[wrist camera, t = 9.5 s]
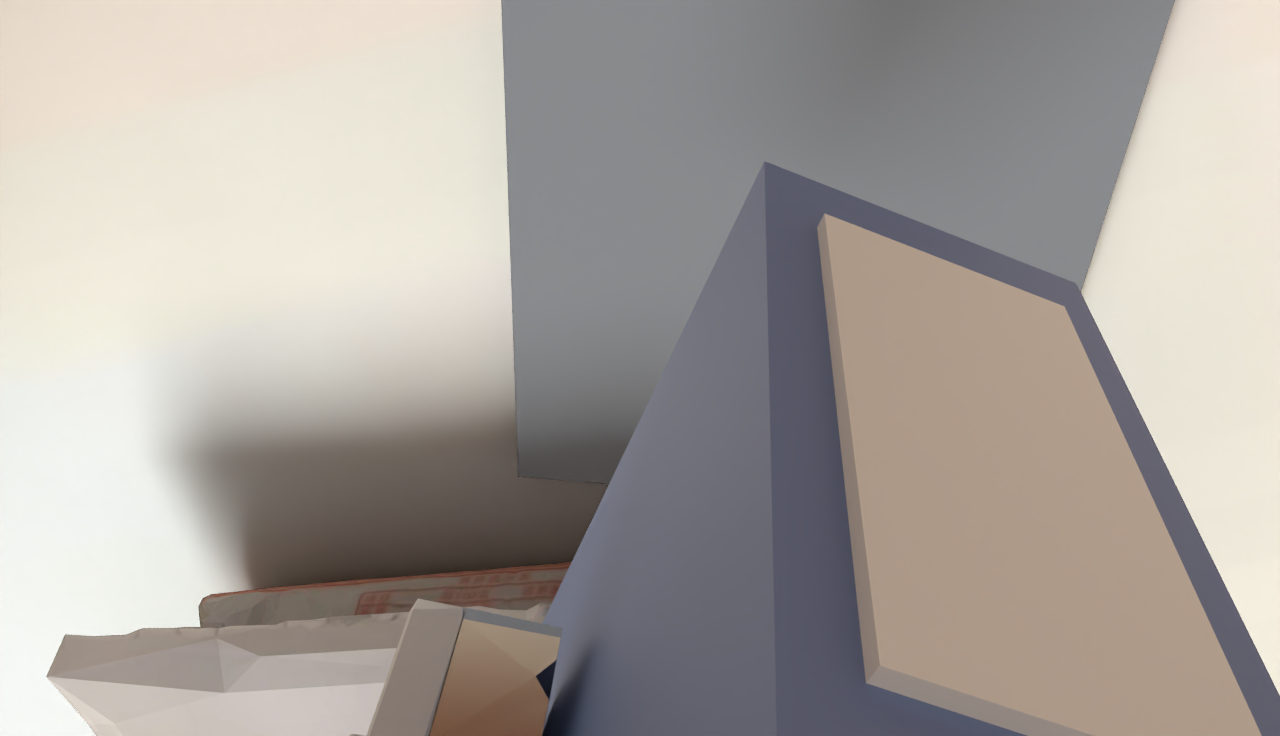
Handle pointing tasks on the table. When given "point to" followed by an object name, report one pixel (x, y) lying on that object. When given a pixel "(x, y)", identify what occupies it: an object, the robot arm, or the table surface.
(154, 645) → the packaged product
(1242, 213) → the table surface
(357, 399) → the table surface
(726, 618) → the blue rectangular block
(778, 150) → the mat
